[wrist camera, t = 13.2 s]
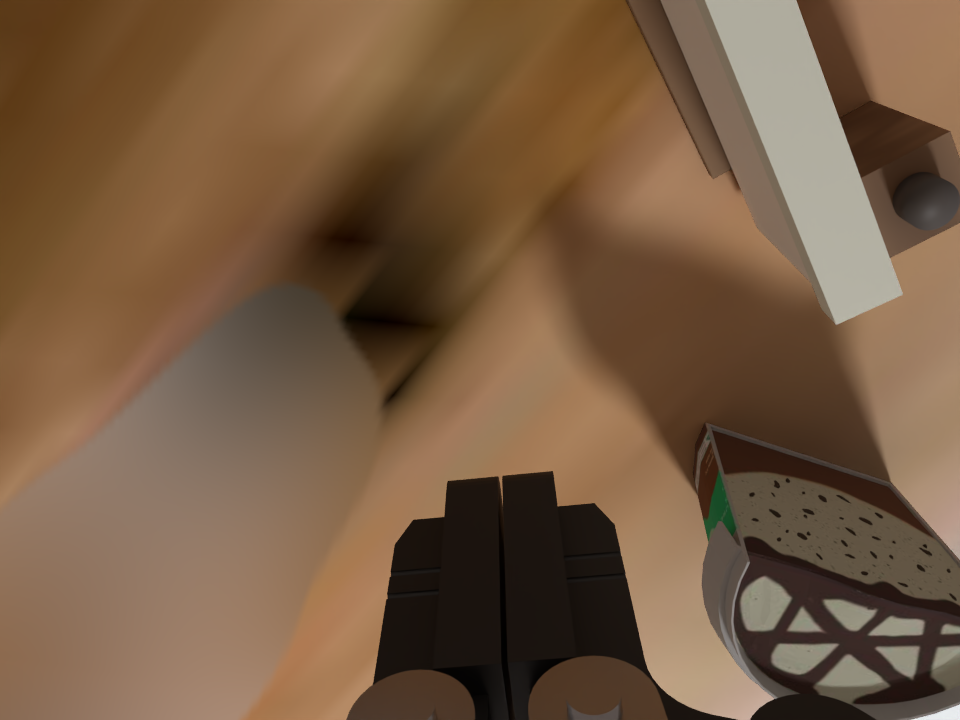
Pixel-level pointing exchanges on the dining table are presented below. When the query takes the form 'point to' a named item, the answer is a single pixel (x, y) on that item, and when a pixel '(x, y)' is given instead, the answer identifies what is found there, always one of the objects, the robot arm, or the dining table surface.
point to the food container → (826, 580)
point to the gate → (787, 145)
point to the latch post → (905, 173)
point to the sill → (680, 82)
